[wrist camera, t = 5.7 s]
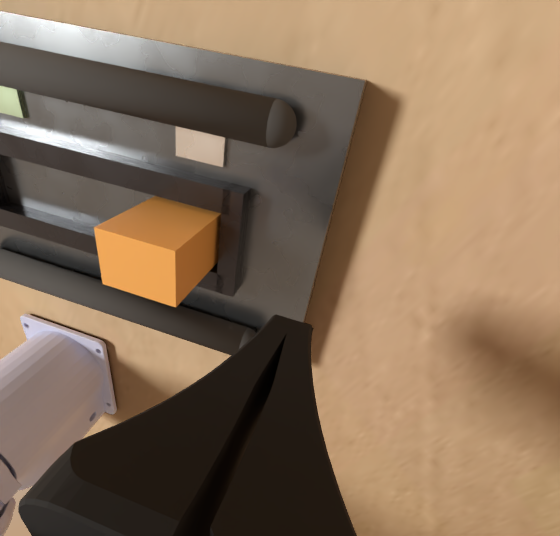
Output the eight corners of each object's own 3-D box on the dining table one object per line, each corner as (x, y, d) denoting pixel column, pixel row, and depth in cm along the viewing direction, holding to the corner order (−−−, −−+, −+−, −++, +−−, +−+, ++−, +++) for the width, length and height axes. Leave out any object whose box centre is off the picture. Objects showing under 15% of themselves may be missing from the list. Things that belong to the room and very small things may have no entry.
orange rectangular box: (220, 259, 18) (175, 307, 14) (160, 242, 19) (102, 283, 15) (223, 211, 17) (175, 251, 13) (158, 194, 17) (93, 227, 13)
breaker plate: (296, 353, 22) (286, 382, 20) (-3, 256, 26) (-37, 272, 24) (367, 80, 14) (363, 80, 12) (-93, -7, 17) (-159, -19, 15)
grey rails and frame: (261, 347, 21) (251, 369, 19) (-3, 261, 24) (-30, 273, 22) (304, 101, 13) (294, 105, 12) (-86, 21, 16) (-135, 16, 15)
